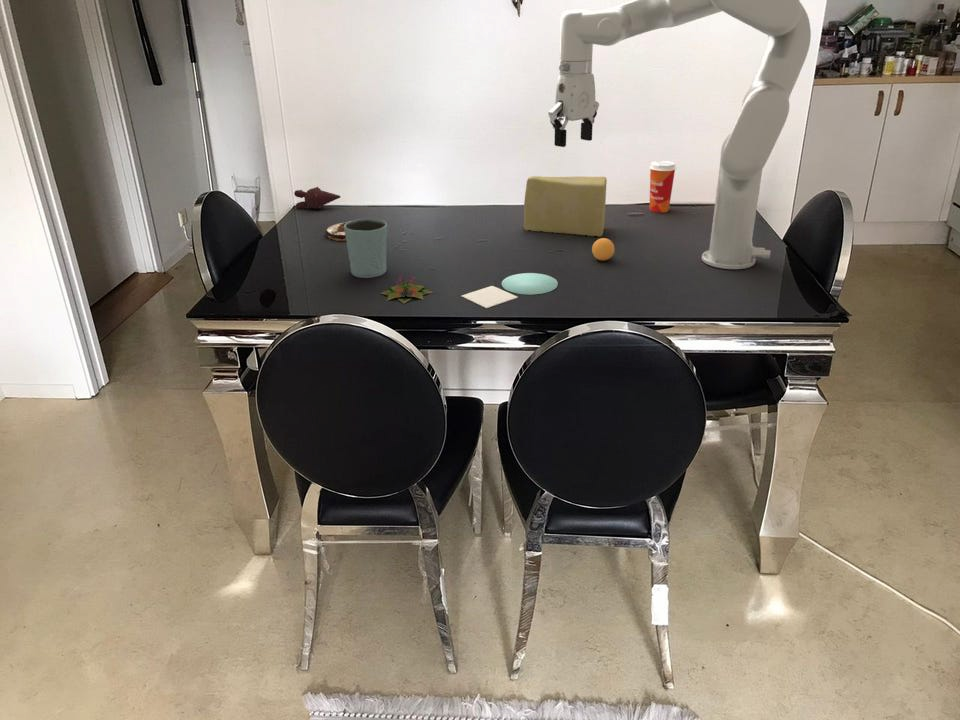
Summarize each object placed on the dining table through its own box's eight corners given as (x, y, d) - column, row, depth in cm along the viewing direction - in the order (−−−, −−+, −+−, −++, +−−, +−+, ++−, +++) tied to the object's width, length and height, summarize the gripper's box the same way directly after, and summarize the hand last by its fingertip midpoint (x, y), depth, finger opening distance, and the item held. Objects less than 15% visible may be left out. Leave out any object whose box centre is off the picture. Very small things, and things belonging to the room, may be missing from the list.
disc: (562, 276, 177) (562, 275, 177) (551, 296, 166) (551, 296, 166) (509, 271, 180) (509, 271, 180) (495, 291, 169) (495, 290, 169)
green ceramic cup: (345, 267, 186) (340, 221, 180) (384, 262, 189) (380, 215, 183) (354, 281, 177) (348, 232, 172) (395, 275, 180) (391, 227, 175)
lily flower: (369, 296, 170) (367, 277, 168) (410, 282, 178) (408, 263, 176) (402, 310, 163) (401, 291, 161) (443, 295, 170) (442, 276, 168)
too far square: (492, 286, 172) (492, 285, 172) (517, 297, 166) (517, 296, 166) (461, 296, 167) (461, 295, 167) (486, 308, 161) (486, 307, 161)
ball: (615, 257, 188) (616, 236, 185) (612, 264, 183) (613, 243, 181) (593, 255, 189) (594, 234, 187) (589, 262, 185) (590, 241, 182)
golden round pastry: (344, 248, 201) (342, 233, 199) (312, 237, 210) (310, 223, 208) (386, 235, 210) (385, 220, 208) (354, 225, 219) (352, 211, 217)
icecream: (343, 185, 234) (298, 188, 237) (334, 184, 227) (288, 188, 230) (345, 207, 236) (301, 210, 238) (337, 208, 228) (291, 211, 231)
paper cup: (641, 208, 226) (644, 161, 219) (663, 205, 228) (668, 159, 221) (654, 215, 219) (658, 167, 213) (677, 212, 221) (682, 164, 215)
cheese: (521, 235, 206) (521, 181, 199) (526, 224, 214) (527, 172, 207) (602, 238, 202) (605, 183, 195) (604, 227, 210) (607, 174, 203)
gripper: (563, 73, 166) (561, 150, 174) (611, 65, 177) (607, 139, 185) (538, 70, 171) (538, 146, 179) (586, 63, 182) (584, 135, 190)
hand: (573, 143), depth 182 cm, fingers open, 9 cm apart
